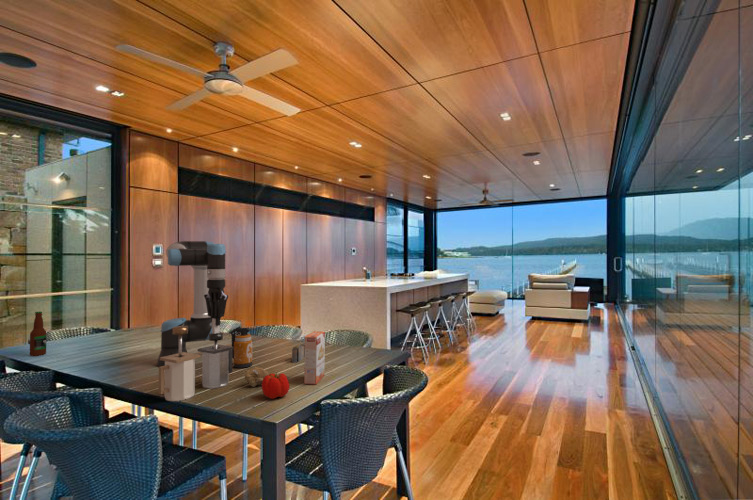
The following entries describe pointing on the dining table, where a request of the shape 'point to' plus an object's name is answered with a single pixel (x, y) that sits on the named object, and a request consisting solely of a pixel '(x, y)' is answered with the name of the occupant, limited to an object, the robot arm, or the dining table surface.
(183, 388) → the ceramic press carafe
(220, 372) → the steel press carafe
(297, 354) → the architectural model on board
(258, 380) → the seashell
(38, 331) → the bottle
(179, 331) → the brass press plunger
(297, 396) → the dining table surface
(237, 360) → the canister
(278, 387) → the tomato
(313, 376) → the cracker box
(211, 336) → the steel plunger
